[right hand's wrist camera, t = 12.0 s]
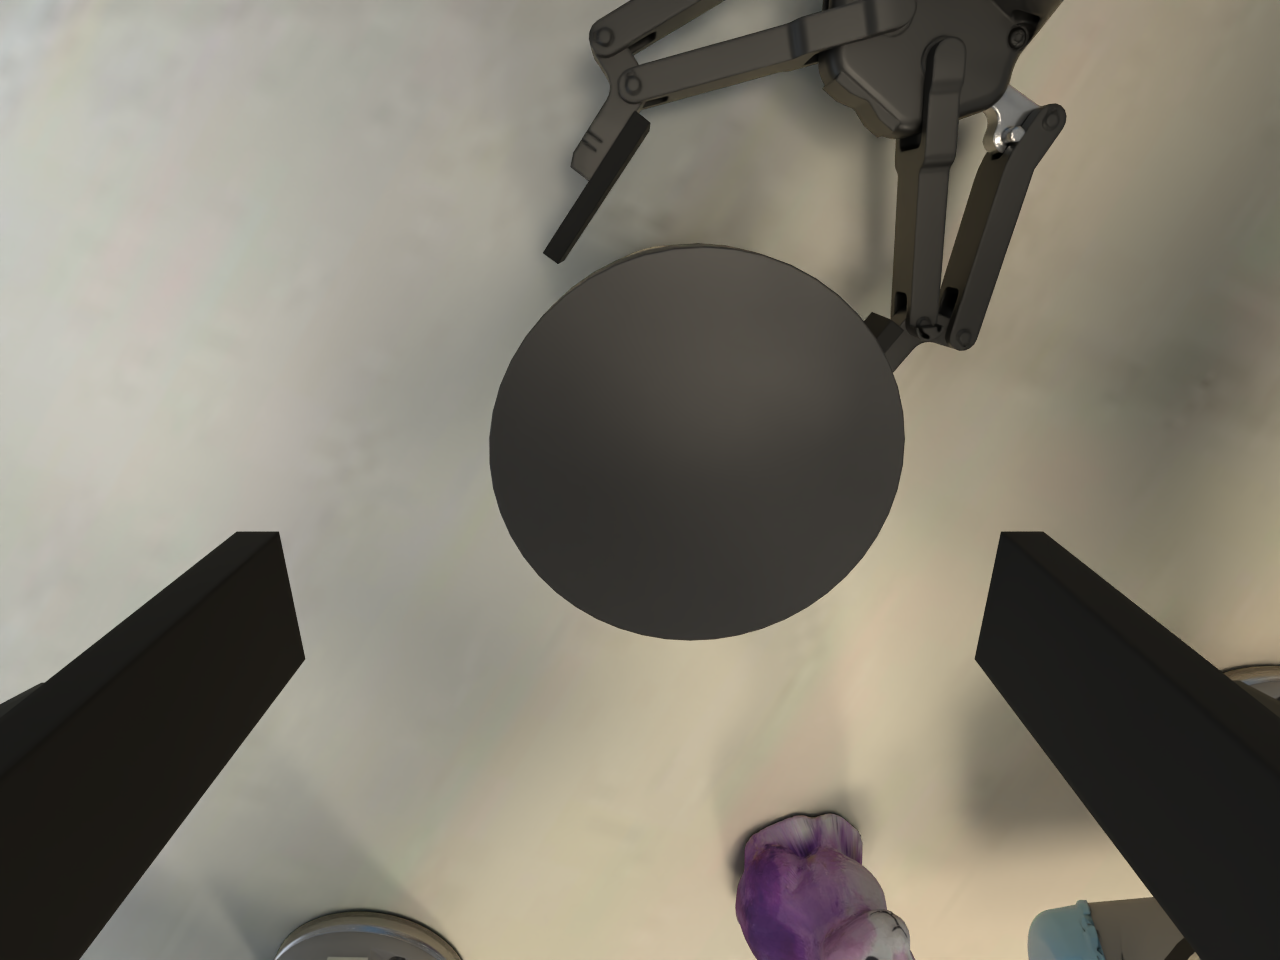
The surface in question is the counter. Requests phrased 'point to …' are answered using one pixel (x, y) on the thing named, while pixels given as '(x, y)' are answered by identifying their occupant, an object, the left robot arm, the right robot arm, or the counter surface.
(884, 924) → the figurine
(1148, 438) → the counter surface
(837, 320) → the lid
